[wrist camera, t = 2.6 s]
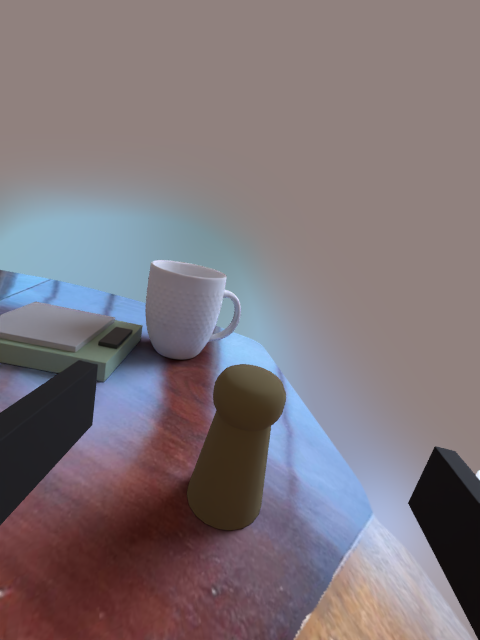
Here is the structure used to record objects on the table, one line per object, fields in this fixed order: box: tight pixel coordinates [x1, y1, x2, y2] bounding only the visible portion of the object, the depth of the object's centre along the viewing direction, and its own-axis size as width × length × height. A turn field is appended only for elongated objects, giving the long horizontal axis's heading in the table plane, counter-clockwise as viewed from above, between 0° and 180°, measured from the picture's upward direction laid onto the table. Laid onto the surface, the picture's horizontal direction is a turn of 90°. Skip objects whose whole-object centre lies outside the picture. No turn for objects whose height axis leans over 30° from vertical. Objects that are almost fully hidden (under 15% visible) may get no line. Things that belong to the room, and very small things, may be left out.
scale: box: [0, 302, 142, 382], centre depth 43 cm, size 16×14×3 cm
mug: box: [146, 260, 241, 359], centre depth 48 cm, size 15×11×13 cm
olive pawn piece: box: [187, 364, 286, 530], centre depth 24 cm, size 6×6×11 cm
